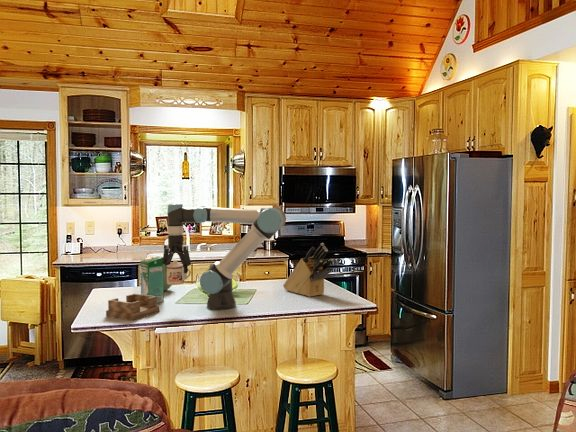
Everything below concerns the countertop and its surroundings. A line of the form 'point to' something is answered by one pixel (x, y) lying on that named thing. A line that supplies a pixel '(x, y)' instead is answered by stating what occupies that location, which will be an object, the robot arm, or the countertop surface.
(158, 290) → the milk carton
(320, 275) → the knife block
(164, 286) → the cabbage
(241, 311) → the countertop surface
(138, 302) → the walnut cup stand
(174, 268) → the teacup with lid
